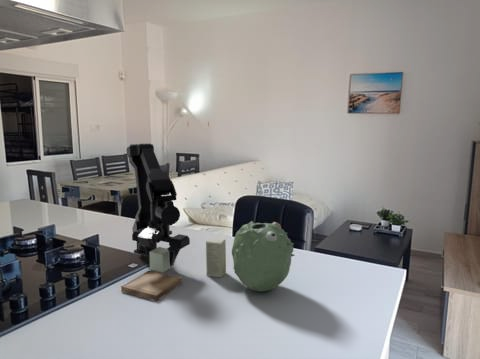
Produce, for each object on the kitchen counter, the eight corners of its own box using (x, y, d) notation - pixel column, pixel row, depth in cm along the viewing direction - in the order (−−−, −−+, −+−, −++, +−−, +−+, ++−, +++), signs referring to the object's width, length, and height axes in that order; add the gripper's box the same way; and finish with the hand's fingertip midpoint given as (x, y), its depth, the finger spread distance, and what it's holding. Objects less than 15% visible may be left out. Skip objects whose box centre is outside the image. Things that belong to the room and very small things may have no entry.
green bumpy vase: (245, 271, 115) (246, 210, 112) (301, 286, 105) (304, 220, 102) (217, 291, 102) (218, 222, 98) (278, 309, 92) (281, 234, 89)
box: (226, 272, 114) (226, 239, 112) (221, 278, 110) (221, 243, 108) (211, 270, 116) (211, 237, 114) (205, 275, 112) (205, 241, 110)
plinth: (121, 291, 100) (121, 286, 100) (149, 275, 111) (149, 270, 111) (156, 300, 95) (156, 295, 95) (181, 282, 106) (181, 277, 106)
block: (149, 269, 115) (149, 251, 114) (159, 264, 120) (159, 246, 119) (162, 272, 113) (162, 254, 112) (172, 266, 118) (171, 249, 117)
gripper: (119, 218, 110) (120, 267, 113) (169, 227, 103) (170, 279, 105) (142, 211, 120) (144, 255, 123) (190, 218, 113) (190, 265, 115)
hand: (160, 263), depth 116 cm, fingers open, 8 cm apart
